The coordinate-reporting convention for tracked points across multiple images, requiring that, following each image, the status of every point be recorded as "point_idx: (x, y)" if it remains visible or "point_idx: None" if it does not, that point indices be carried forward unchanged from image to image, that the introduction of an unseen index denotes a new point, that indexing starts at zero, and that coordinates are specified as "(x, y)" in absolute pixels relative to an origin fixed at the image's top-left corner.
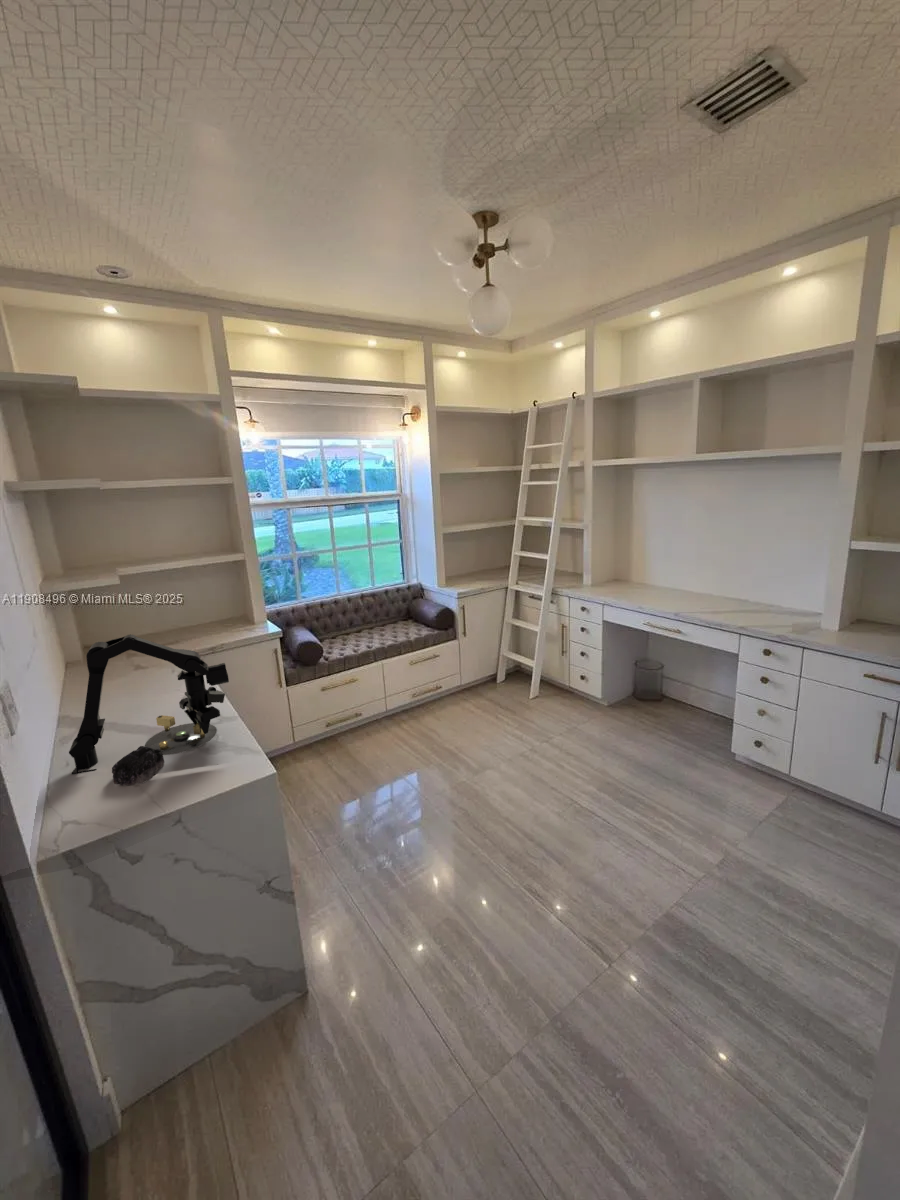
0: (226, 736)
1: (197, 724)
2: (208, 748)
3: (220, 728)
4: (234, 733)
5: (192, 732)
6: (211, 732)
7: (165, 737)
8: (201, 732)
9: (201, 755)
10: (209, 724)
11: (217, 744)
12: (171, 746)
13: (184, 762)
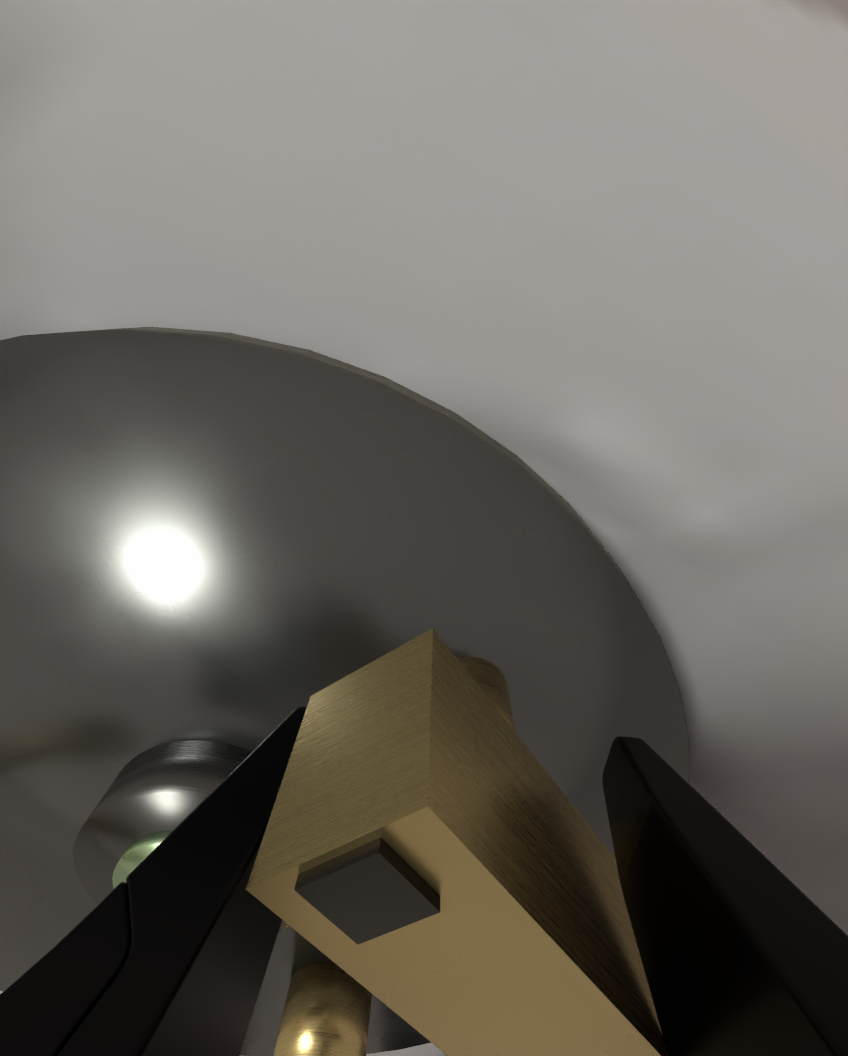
0: (705, 366)
1: (502, 1053)
2: (750, 713)
3: (274, 237)
4: (764, 182)
5: (154, 683)
6: (430, 523)
7: (47, 894)
8: (602, 857)
9: (811, 824)
10: (845, 935)
11: (786, 599)
12: None
13: None
